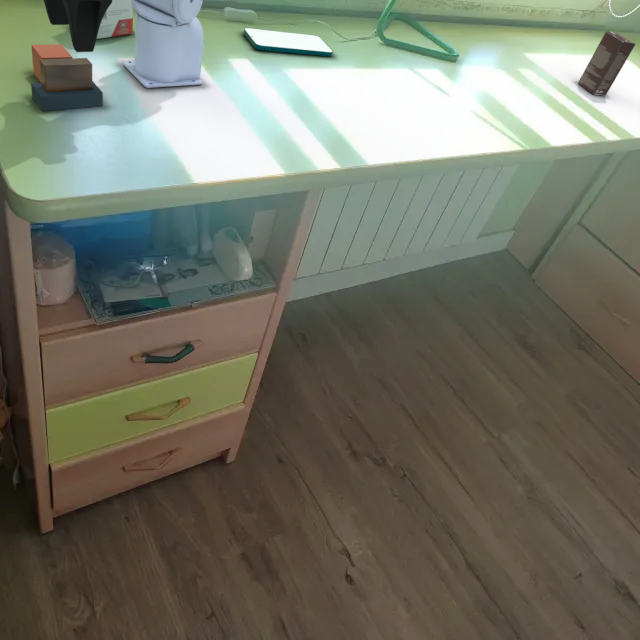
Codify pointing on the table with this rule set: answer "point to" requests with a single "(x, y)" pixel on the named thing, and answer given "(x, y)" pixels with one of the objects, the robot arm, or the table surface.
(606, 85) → the box
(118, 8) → the ink box
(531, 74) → the table surface
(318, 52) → the smartphone
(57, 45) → the reddish-orange block
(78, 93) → the stepped two-tone block
